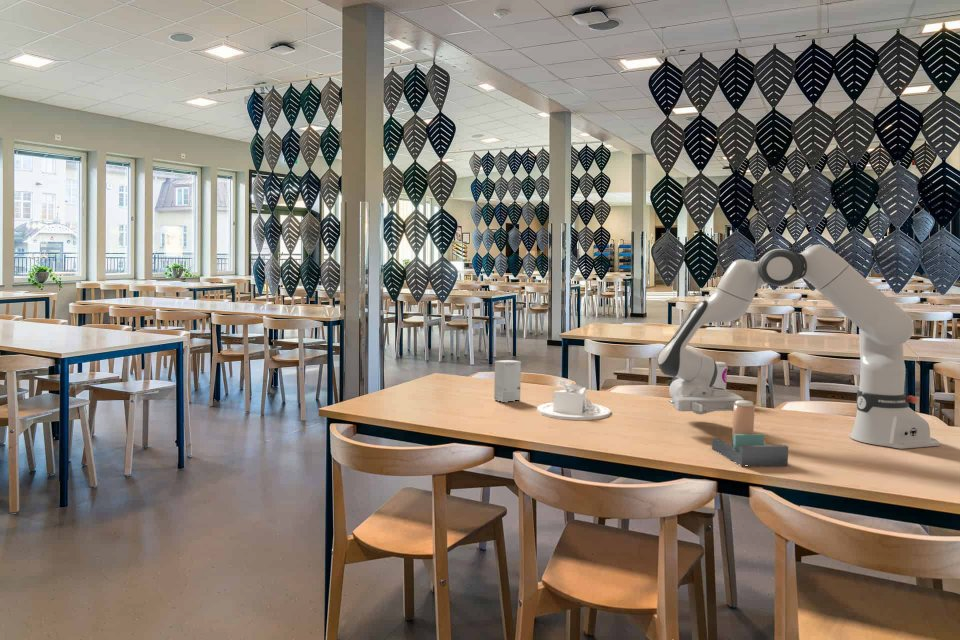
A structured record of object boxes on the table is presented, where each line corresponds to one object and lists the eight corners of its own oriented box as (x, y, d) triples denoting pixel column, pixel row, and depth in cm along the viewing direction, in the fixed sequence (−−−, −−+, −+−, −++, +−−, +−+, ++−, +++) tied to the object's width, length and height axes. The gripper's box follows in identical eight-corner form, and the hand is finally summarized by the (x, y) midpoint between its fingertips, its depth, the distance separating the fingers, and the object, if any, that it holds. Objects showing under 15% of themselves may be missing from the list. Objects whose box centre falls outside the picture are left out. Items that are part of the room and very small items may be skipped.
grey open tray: (753, 448, 181) (754, 430, 181) (787, 466, 165) (788, 446, 164) (712, 448, 180) (712, 430, 179) (741, 466, 163) (742, 447, 163)
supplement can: (727, 402, 244) (729, 362, 243) (722, 405, 238) (724, 364, 236) (705, 399, 249) (706, 360, 248) (699, 403, 242) (701, 362, 241)
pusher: (760, 455, 173) (761, 433, 173) (768, 459, 170) (769, 437, 169) (732, 455, 172) (733, 434, 172) (739, 459, 169) (740, 437, 168)
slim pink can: (746, 450, 178) (748, 399, 177) (756, 456, 173) (758, 403, 172) (728, 451, 178) (730, 399, 177) (737, 456, 173) (739, 403, 172)
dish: (590, 424, 208) (591, 389, 207) (523, 414, 222) (523, 380, 221) (622, 411, 228) (623, 379, 227) (558, 402, 242) (558, 372, 241)
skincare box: (503, 403, 238) (503, 362, 237) (493, 400, 243) (493, 360, 242) (521, 400, 243) (521, 360, 242) (511, 398, 248) (511, 358, 246)
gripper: (666, 389, 201) (685, 398, 187) (730, 388, 203) (753, 397, 189) (666, 409, 202) (684, 420, 188) (730, 408, 204) (753, 418, 190)
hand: (719, 408), depth 189 cm, fingers open, 8 cm apart
